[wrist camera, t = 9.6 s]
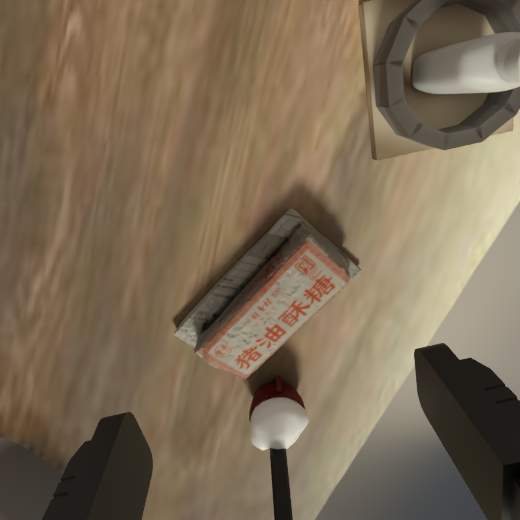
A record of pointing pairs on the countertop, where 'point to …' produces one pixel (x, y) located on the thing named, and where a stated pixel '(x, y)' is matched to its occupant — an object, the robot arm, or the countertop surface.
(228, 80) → the countertop surface
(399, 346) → the countertop surface
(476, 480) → the robot arm
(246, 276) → the packaged product
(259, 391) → the red-capped knob on stick
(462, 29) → the collar board
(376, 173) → the countertop surface
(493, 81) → the eye dropper bottle
